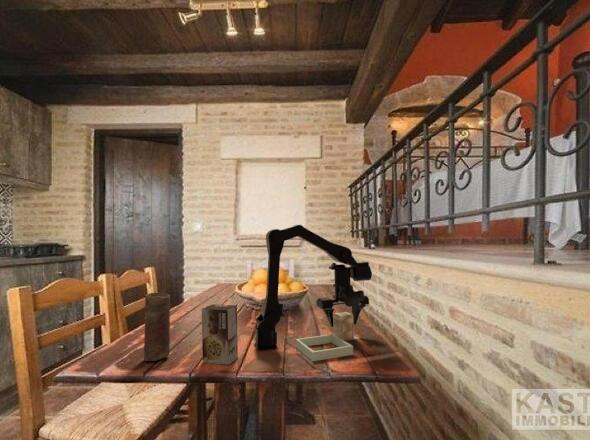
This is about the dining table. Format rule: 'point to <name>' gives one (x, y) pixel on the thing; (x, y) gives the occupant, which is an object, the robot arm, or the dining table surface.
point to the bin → (342, 350)
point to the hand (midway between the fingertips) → (343, 325)
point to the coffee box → (219, 334)
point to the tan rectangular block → (343, 325)
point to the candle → (157, 326)
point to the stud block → (350, 338)
